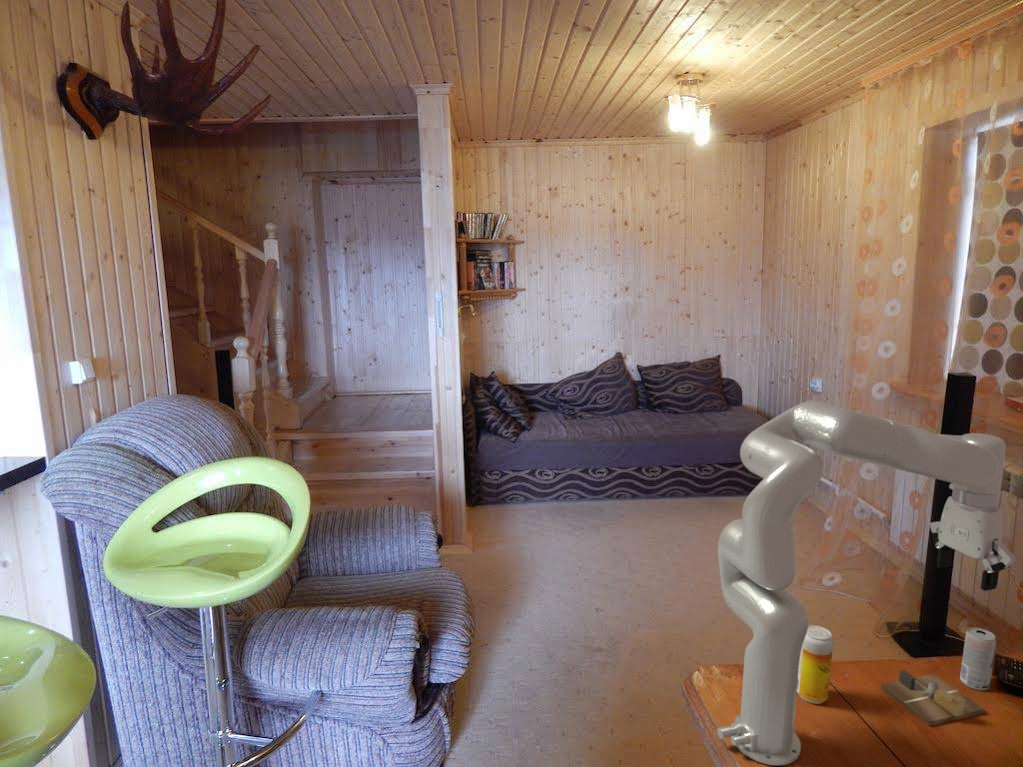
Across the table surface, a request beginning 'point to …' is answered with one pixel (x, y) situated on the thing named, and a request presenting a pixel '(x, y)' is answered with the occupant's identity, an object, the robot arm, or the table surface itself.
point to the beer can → (815, 665)
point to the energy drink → (978, 658)
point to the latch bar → (949, 702)
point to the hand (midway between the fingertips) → (965, 577)
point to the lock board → (927, 698)
